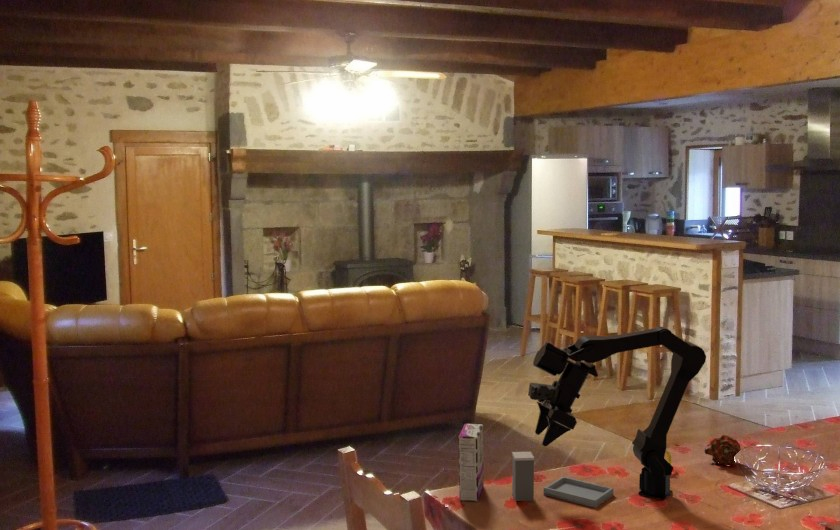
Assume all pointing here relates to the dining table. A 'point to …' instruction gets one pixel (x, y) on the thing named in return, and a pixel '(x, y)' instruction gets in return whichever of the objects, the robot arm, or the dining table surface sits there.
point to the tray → (578, 491)
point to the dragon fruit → (723, 450)
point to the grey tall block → (523, 476)
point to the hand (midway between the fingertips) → (540, 439)
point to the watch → (668, 457)
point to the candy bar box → (471, 462)
